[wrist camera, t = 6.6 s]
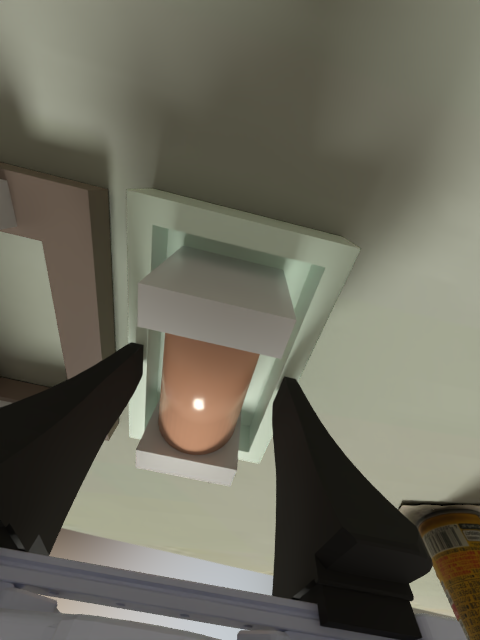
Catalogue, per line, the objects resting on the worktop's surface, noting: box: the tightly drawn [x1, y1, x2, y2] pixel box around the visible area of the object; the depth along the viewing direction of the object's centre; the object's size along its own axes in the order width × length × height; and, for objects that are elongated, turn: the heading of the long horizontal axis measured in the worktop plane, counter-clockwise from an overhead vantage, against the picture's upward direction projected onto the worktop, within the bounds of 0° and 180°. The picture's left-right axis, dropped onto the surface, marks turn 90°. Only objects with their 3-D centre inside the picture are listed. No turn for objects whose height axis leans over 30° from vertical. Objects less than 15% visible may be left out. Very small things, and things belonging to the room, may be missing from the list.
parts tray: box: [126, 188, 361, 464], centre depth 14 cm, size 15×9×2 cm, turn 167°
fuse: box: [136, 246, 296, 486], centre depth 12 cm, size 10×5×5 cm, turn 167°
